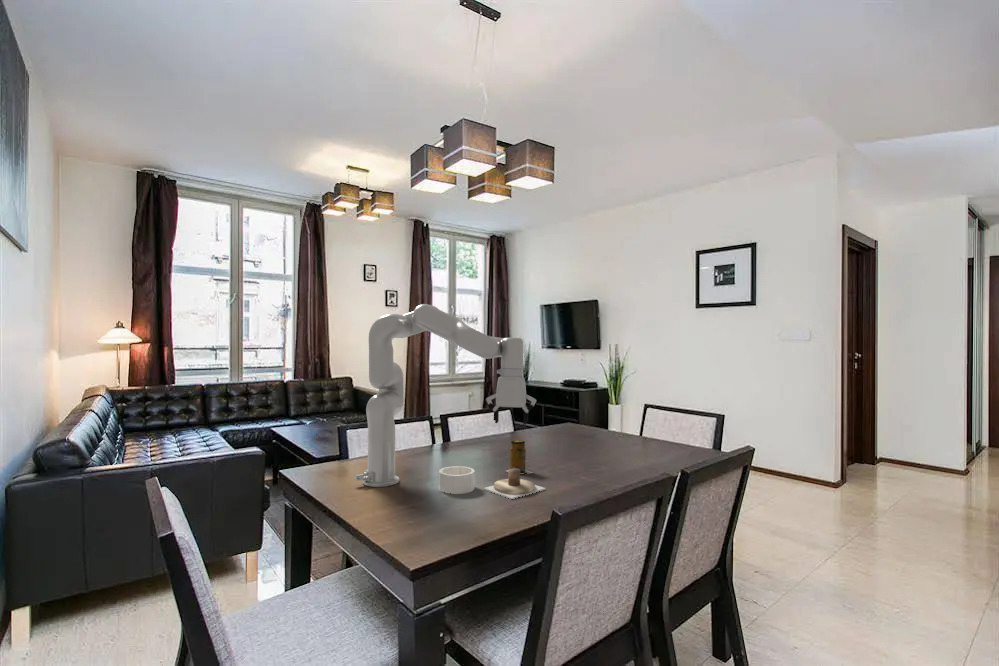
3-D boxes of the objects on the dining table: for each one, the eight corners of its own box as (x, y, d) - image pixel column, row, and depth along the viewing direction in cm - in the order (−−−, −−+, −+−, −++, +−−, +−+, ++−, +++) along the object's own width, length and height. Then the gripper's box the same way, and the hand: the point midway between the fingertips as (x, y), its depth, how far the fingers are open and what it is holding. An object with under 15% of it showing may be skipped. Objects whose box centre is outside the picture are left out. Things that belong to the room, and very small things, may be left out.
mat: (511, 499, 160) (511, 497, 160) (483, 489, 171) (483, 487, 171) (545, 489, 171) (545, 488, 171) (516, 480, 182) (516, 479, 182)
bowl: (453, 496, 163) (453, 477, 163) (432, 487, 172) (432, 470, 172) (481, 488, 171) (481, 471, 172) (459, 481, 180) (459, 464, 180)
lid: (513, 497, 161) (513, 477, 161) (485, 487, 171) (485, 469, 172) (543, 488, 171) (543, 470, 171) (514, 479, 181) (514, 462, 181)
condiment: (518, 468, 199) (518, 438, 199) (533, 473, 193) (533, 441, 193) (504, 471, 195) (504, 440, 195) (518, 476, 188) (519, 444, 188)
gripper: (485, 373, 170) (484, 424, 170) (536, 375, 167) (535, 426, 167) (488, 371, 177) (487, 420, 177) (537, 373, 175) (536, 422, 175)
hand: (510, 423), depth 172 cm, fingers open, 9 cm apart
